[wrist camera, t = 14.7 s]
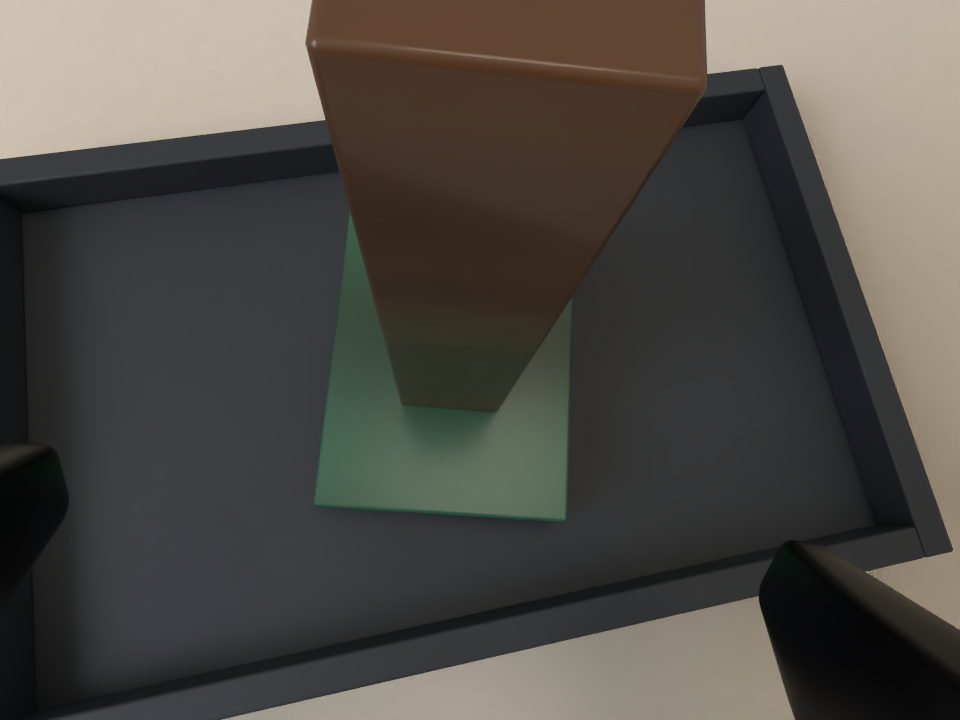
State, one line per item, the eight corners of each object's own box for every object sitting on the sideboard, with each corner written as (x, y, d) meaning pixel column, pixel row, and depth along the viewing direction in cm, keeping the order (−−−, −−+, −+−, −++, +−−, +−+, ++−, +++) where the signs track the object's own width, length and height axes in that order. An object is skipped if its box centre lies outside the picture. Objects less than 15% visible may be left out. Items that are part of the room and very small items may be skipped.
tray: (746, 110, 21) (783, 63, 19) (890, 547, 18) (955, 551, 16) (10, 205, 18) (-48, 163, 16) (23, 743, 15) (-47, 781, 13)
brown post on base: (552, 521, 17) (1073, 549, 3) (326, 507, 16) (-180, 469, 3) (560, 247, 19) (906, -464, 5) (359, 228, 18) (156, -588, 5)
